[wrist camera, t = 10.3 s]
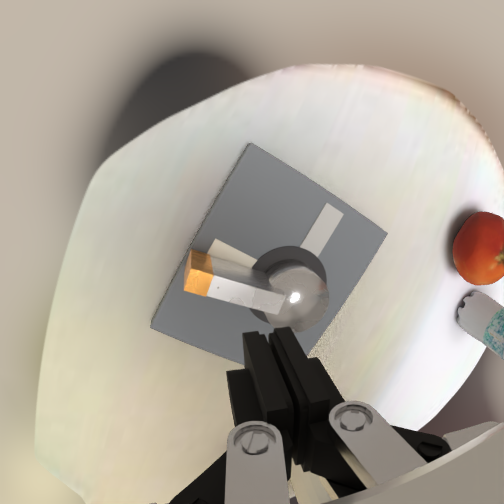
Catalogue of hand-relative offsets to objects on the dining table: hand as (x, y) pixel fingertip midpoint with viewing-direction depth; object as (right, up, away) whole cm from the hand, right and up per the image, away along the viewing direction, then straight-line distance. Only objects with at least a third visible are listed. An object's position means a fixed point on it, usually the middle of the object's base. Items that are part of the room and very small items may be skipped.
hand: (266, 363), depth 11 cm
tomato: (+28, +6, +25) cm, 38 cm away
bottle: (+32, -4, +29) cm, 44 cm away
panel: (+1, +2, +21) cm, 21 cm away
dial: (0, +2, +19) cm, 19 cm away
